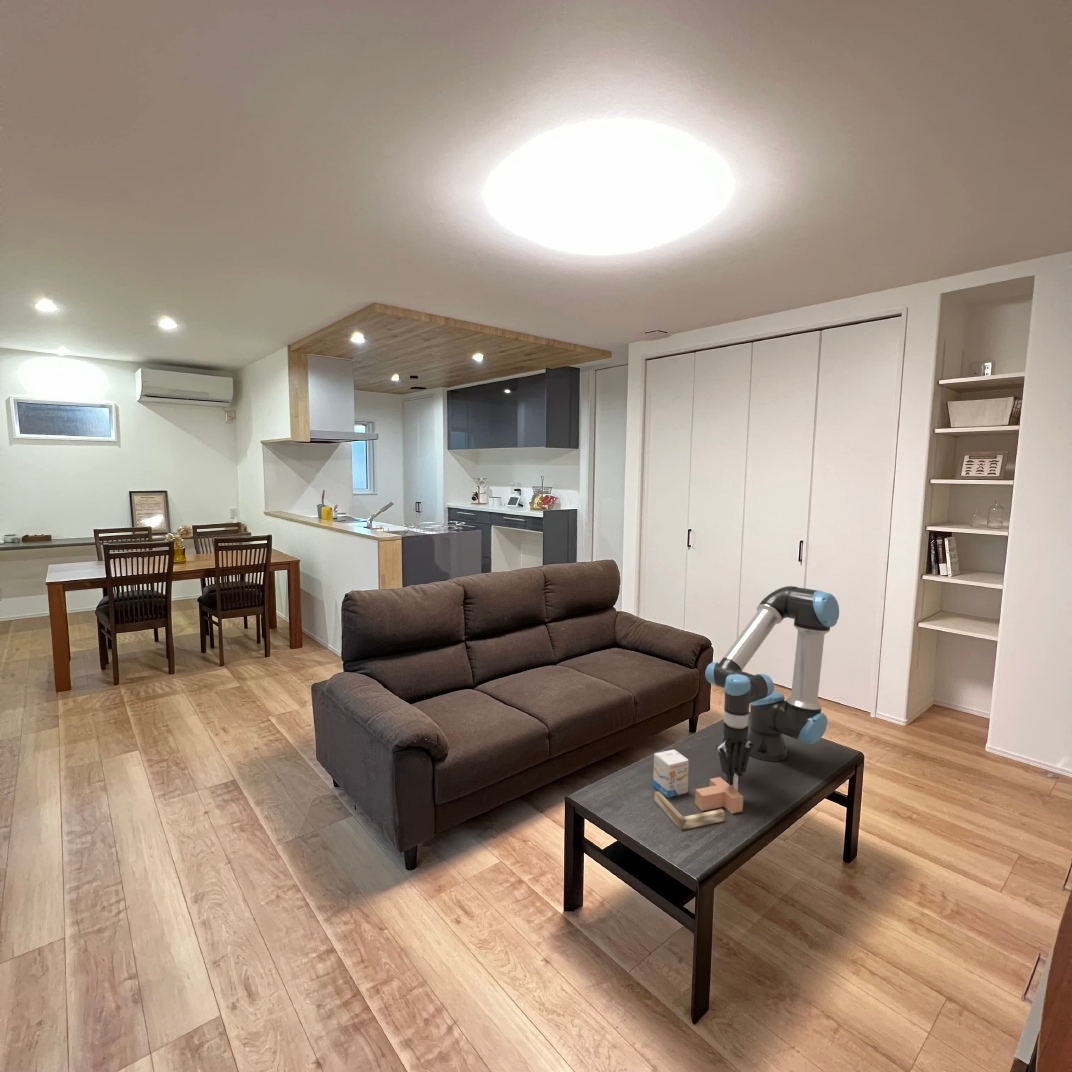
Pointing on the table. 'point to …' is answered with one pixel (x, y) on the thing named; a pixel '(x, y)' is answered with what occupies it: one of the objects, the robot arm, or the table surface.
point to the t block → (719, 796)
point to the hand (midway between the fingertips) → (732, 793)
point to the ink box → (670, 773)
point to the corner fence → (688, 820)
